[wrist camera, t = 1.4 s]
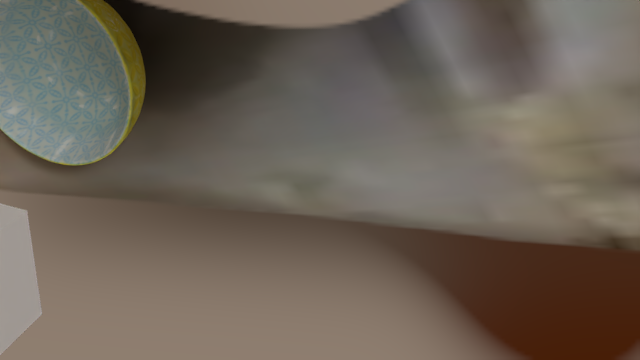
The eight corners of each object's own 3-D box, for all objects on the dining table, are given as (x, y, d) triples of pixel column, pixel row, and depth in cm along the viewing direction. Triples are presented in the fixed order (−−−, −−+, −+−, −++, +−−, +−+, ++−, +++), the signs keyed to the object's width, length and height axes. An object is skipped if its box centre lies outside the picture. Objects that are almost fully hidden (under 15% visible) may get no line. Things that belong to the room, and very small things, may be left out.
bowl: (43, 118, 44) (-19, 151, 39) (14, -46, 39) (-62, -34, 34) (184, 141, 42) (140, 180, 37) (174, -30, 37) (120, -13, 31)
